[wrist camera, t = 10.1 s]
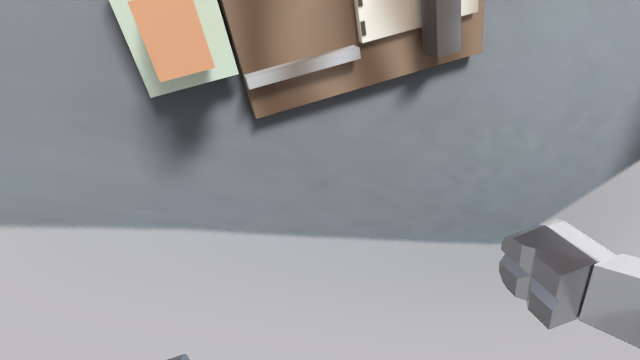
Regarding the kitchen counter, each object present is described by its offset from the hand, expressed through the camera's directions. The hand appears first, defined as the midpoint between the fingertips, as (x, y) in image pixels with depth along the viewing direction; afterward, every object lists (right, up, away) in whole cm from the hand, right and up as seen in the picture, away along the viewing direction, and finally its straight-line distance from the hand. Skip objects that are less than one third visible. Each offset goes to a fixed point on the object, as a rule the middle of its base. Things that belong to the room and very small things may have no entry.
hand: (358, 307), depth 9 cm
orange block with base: (-10, +13, +15) cm, 22 cm away
